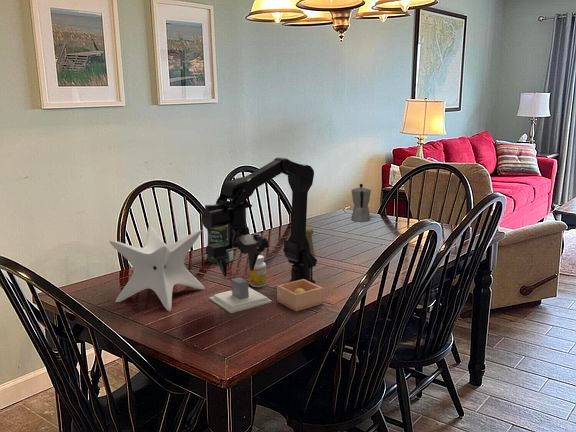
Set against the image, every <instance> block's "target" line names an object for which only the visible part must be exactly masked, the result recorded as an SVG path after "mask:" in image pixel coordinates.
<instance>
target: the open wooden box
mask: <svg viewBox="0 0 576 432" xmlns="http://www.w3.org/2000/svg"><path fill="white" fill-rule="evenodd" d="M298 288H302V289H304V290H305V292H301V293H297V294H296V293H294V292H295V290H296V289H298ZM276 301H277V302H278V303H280V304H282V305H283V306H285V307H287V308H289V309H291V310H293V311H295V312H299V311H301V310H306V309H309V308H312V307H315V306H319V305H322V304H324V287H322V286H319V285H318V284H316V283H311V282H309V281H307V280H305V279H301V280H297V281H293V282H290V281H289V282H286V283H283V284H278V285H276Z"/></svg>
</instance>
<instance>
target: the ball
mask: <svg viewBox="0 0 576 432" xmlns="http://www.w3.org/2000/svg"><path fill="white" fill-rule="evenodd" d="M301 292H305V290H304V289H302V288H298V289H296V290H295V292H294V293H296V294H297V293H301Z"/></svg>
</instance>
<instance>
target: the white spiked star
mask: <svg viewBox="0 0 576 432" xmlns="http://www.w3.org/2000/svg"><path fill="white" fill-rule="evenodd" d="M201 233H202V230H201V229H199V230H196V231H193V232H192V233H190V234H188V235H187V236H185V237H183V238H181V239H180V240H178V241H175V242H173V243H169V244H168V243H165V242H164V241H163V240H162V238H161V237H160V236H159V234H158V232H156V230H155V229H154V227H153V226H152V225H148V227H147V232H146V241H145V245H144V246H142V247H138V246H133V245H131V244H130V245H129V244H128V243H127V244H126V243H123V242H121V241H118V240H117V241H116V240H112V239H111V240H108V241H109V244H110V245H111V246H112V247H113V248H114V249H115V250H116V251H117V252H118V253H119V254H120V255H121V256H122V257H124V259H126V260H127V261H128V262H129V263H130V265H131V266H132V269H133V271H132V273H131V276H130V278H129V279H128V282H127V283H126V284H125V286H124V287H123V288H122V290H121V291H120V293H119V294H118V295H117V297H116V299H115V302H119V303H121V302H122V301H125V300H127V299H129V298H130V297H132V296H134V295H136V294H138V293H139V292H142V291H143V290H147V289H150V290H152V291H154V293H155V295H156V296H157V297H158V299H159V300H160V302H161V303H162V306H163V307H164V308H165V310H166V311H168V312H171V311H172V304H173V303H172V302H173V288H174V286H175V285H182V286H185V287H190V288H193V289H197V290H202V291H203V290H205V286H204V285H203V284H202V283H201V282H200V281H199V280H198V279H197V277H195V276H194V275H193V274H192V273H191V272H190V271H189V270H188V269H187V267H186V265H185V259H186V257H187V254H188V253H189V251H190V250H191V248H192V247H193V245H194V244H195V243H196V242H197V240H198V238H199V237H200V235H201ZM115 302H114V303H115Z"/></svg>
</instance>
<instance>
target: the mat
mask: <svg viewBox="0 0 576 432" xmlns="http://www.w3.org/2000/svg"><path fill="white" fill-rule="evenodd" d="M208 299H209V300H210V301H211V302H213V303H215V304H216V305H218V306H219V307H221V308H223V310H225V311H227V312H228V313H229V314H234V313H238V312H241V311H246V310H249V309H252V308H257V307H261V306H265V305H268V304H271V303H272V302H273V301H272V300H271V299H270V298H268V297H267V301H264V302H260V303H256V304H252V305H249V306H245V307H241V308H237V309H233V310H232V309H231V308H229V307H228V306H226V305H225V304H223V303H222V302H220V301H218V300H217V299H215V298H214V295H212V296H210V297H209V298H208Z"/></svg>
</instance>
